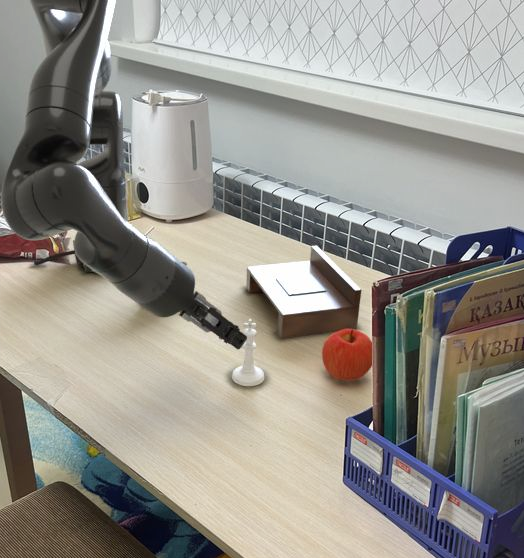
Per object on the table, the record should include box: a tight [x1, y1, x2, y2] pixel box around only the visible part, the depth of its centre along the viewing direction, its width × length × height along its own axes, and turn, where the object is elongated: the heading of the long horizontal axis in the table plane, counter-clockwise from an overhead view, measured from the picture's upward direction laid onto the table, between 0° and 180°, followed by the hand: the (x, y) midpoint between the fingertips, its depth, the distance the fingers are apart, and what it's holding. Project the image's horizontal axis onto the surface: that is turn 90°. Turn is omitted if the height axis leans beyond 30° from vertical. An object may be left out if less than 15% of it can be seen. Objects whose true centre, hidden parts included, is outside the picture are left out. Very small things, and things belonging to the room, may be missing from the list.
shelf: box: [245, 245, 362, 339], centre depth 125 cm, size 14×20×8 cm
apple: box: [321, 329, 373, 381], centre depth 106 cm, size 8×8×8 cm
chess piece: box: [231, 318, 265, 387], centre depth 103 cm, size 5×5×10 cm
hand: (224, 330), depth 98 cm, fingers open, 8 cm apart
